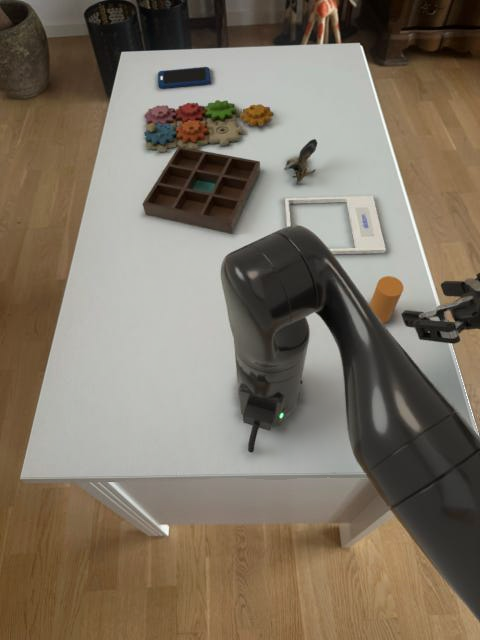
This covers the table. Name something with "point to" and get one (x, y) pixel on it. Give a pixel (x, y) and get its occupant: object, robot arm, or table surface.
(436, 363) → the table surface
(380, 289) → the orange cylinder
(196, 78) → the cell phone
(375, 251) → the photo frame
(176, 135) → the gear puzzle
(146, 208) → the grid
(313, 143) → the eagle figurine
